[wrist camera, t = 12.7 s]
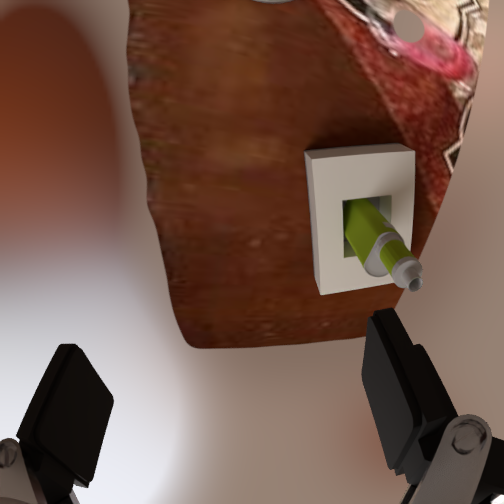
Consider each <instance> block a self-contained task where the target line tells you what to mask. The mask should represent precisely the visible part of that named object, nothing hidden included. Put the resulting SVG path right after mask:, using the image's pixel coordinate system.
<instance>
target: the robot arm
mask: <svg viewBox="0 0 504 504" xmlns="http://www.w3.org/2000/svg"><path fill="white" fill-rule="evenodd" d="M254 1H258V2H262V3H271V4H274V3H285V2H290V1H293V0H254ZM362 381H363V385H364V388H365V391H366V394H367V397H368V401H369V404H370V407H371V410H372V414H373V417H374V420H375V423H376V426H377V430H378V434H379V437H380V441H381V444H382V447H383V451H384V454H385V458H386V462H387V465H388V468H389V469H390V470H392V469H395V473H396V476H397V475H401V474H404V473H405V476H406V480H407V483H409V486H408V488H407V490H406V492H405V494H404V496H403V497H402V499H401V501H400V503H399V504H504V440H501V439H498V438H495V437H492V434H491V429H490V427H489V426H488V424H487V422H485V421H484V420H483V419H482V418H480V417H478V416H476V415H470V414H467V415H461V416H458V414H457V412H456V410H455V408H454V406H453V404H452V402H451V399H450V397H449V395H448V393H447V391H446V389H445V387H444V385H443V383H442V381H441V379H440V377H439V375H438V373H437V371H436V369H435V367H434V365H433V363H432V362H431V360H430V358H429V356H428V354H427V353H426V351H425V349H424V347H423V346H422V345H420V344H416V345H413V343H412V341H411V339H410V338H409V336H408V334H407V332H406V330H405V328H404V326H403V324H402V323H401V321H400V319H399V317H398V315H397V314H396V312H395V310H394V309H393V308H387V309H382V310H377V311H374V313H373V316H371V317H368V323H367V333H366V342H365V350H364V358H363V366H362ZM113 404H114V399H113V396H112V394H111V393H110V391H109V390H108V388H107V387H106V386H105V384H104V383H103V381H102V380H101V378H100V377H99V375H98V374H97V372H96V371H95V369H94V368H93V366H92V365H91V363H90V361H89V360H88V358H87V357H86V355H85V353H84V352H83V350H82V349H81V348H79V347H78V346H77V345H76V344H60V345H59V346H58V348H57V350H56V352H55V354H54V356H53V357H52V359H51V361H50V363H49V365H48V367H47V369H46V371H45V373H44V375H43V377H42V379H41V381H40V383H39V385H38V387H37V389H36V392H35V394H34V396H33V398H32V400H31V402H30V404H29V407H28V409H27V411H26V413H25V416H24V418H23V420H22V422H21V425H20V427H19V429H18V432H17V434H16V437H17V438H19V439H20V441H19V443H18V442H17V441H16V440H14V439H12V438H7V439H3V440H2V441H0V504H79V501H78V500H77V497H76V495H75V493H74V491H73V489H72V488H73V484H75V485H76V486H81V487H85V488H88V486H89V483H90V482H91V481H92V480H93V477H94V473H95V470H96V465H97V461H98V457H99V453H100V450H101V446H102V443H103V439H104V435H105V432H106V428H107V425H108V421H109V417H110V414H111V410H112V407H113Z"/></svg>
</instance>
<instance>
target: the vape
mask: <svg viewBox="0 0 504 504" xmlns="http://www.w3.org/2000/svg"><path fill="white" fill-rule="evenodd" d="M343 233H344V234H345V236H346V238H347V239H348V241H349V243H350V245H351V246H352V248H353V250H354V252H355V254H356V255H357V257H358V259H359V261H360V263H361V264H362V266H363V268H364V270H365V272H366V273H367V274H369V275H370V276H373V277H384V276H386V275H388V274H390V275H391V277H392V279H393V281H394V282H395V284H396V285H397V286H399V287H400V288H408V289H409V290H410V291H412V292H413V291H417V290H418V289H420V288H421V287H422V285H423V280H422V279H421V275H422V266H421V264H420V262H419V261H418V260H417V259H416V258H415V257H414V256H413V254H412V253H411V252H410V251H409V249H408V248H407V247H406V246H405V242H404V239H403V238H402V236H401V235H400V234H399V233H398V232H397V230H396V229H395V227H394V226H393V225H392V224H390V223H389V222H388V221H387V220H386V218H385V217H384V216H383V215H382V214H381V213H380V212H379V211H378V210H377V209H376V207H375V206H374V205H373V204H372V203H371V202H370V201H369V200H368V199H367V198H359V199H350V200H347V201H346V203H345V206H344V208H343Z"/></svg>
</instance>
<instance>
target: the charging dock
mask: <svg viewBox="0 0 504 504" xmlns="http://www.w3.org/2000/svg"><path fill="white" fill-rule="evenodd" d="M304 156H305V166H306V176H307V186H308V197H309V209H310V221H311V234H312V248H313V263H314V276H315V279H316V282H317V285H318V288H319V292H320V295H325V294H331V293H337V292H343V291H349V290H355V289H361V288H366V287H372V286H378V285H383V284H389V283H394V281H393V279H392V277H391V275H390V274H388V275H386V276H384V277H373V276H370V275H369V274H367V273H366V272H365V270H364V268H363V266H362V264H361V263H360V261H359V259H358V257H357V255H356V254H355V252H354V250H353V248H352V246H351V245H350V243H349V241H348V239H347V238H346V236H345V234H344V233H343V208H344V206H345V203H346V201H347V200H350V199H359V198H367V199H368V200H369V201H370V202H371V203H372V204H373V205H374V206H375V207H376V209H377V210H378V211H379V212H380V213H381V214H382V215H383V216H384V217H385V218H386V220H387V221H388V222H389V223H390V224H392V225H393V226H394V227H395V229H396V230H397V232H398V233H399V234H400V235H401V236H402V238H403V239H404V242H405V246H406V247H407V248H408V249H409V251H410V249H411V238H412V226H413V210H414V189H415V151H414V150H412V149H410V148H408V147H406V146H404V145H401V144H399V143H387V144H371V145H358V146H346V147H334V148H324V149H315V150H306V151H304Z"/></svg>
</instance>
